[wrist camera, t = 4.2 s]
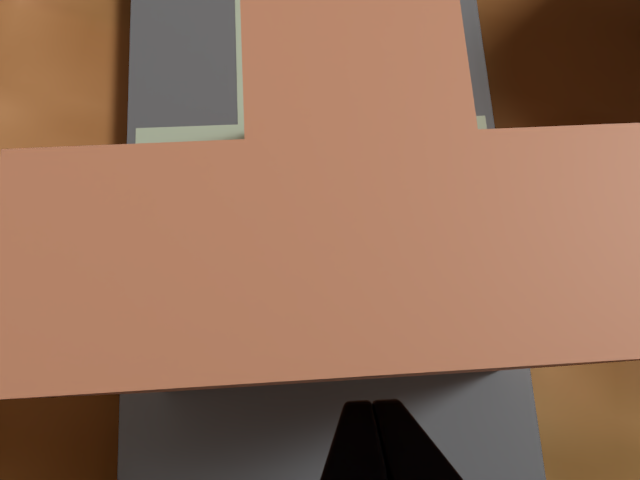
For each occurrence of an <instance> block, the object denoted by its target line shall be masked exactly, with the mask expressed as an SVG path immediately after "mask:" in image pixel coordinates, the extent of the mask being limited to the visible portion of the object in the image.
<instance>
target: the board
mask: <svg viewBox="0 0 640 480" xmlns="http://www.w3.org/2000/svg"><path fill="white" fill-rule="evenodd" d="M460 5H461V12H462V20H463V27H464V34H465V41H466V48H467V55H468V62H469V69H470V76H471V83H472V91H473V98H474V105H475V112H476V119H477V126H478V129H495V125H494V118H493V111H492V104H491V98H490V91H489V84H488V77H487V70H486V63H485V56H484V49H483V42H482V35H481V29H480V22H479V15H478V8H477V1H476V0H460ZM235 139H245V138H244V106H243V75H242V43H241V12H240V0H131V16H130V51H129V87H128V122H127V144H138V143H163V142H187V141H211V140H235ZM378 399H398V400H400V401H401V402H402V403H403V404H404V406H405V407H406V408H407V409H408V411H409V412H410V413H411V415H412V416H413V417H414V418H415V420H416V421H417V422H418V423H419V425H420V426H421V427H422V428H423V430H424V431H425V432H426V433H427V435H428V436H429V437H430V438H431V440H432V441H433V442H434V443H435V445H436V446H437V447H438V448H439V450H440V451H441V452H442V453H443V455H444V456H445V457H446V458H447V460H448V461H449V462H450V463H451V465H452V466H453V467H454V468H455V470H456V471H457V472H458V473H459V475H460V476H461V477H462V478H463V480H546V477H545V470H544V463H543V456H542V449H541V442H540V436H539V429H538V422H537V415H536V408H535V401H534V394H533V387H532V380H531V373H530V368H528V369H514V370H501V371H485V372H470V373H454V374H438V375H422V376H407V377H391V378H375V379H360V380H344V381H328V382H312V383H297V384H281V385H265V386H250V387H234V388H218V389H203V390H187V391H171V392H152V393H131V394H120V403H119V439H118V474H117V480H320V478H321V475H322V472H323V469H324V465H325V462H326V459H327V456H328V453H329V449H330V446H331V443H332V440H333V437H334V433H335V430H336V427H337V424H338V421H339V417H340V414H341V411H342V408H343V405H344V403H345V402H347V401H357V400H369V401H370V402H371V403H372V402H373V401H374V400H378Z"/></svg>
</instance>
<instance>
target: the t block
mask: <svg viewBox="0 0 640 480" xmlns="http://www.w3.org/2000/svg"><path fill="white" fill-rule="evenodd" d="M240 12H241V43H242V75H243V106H244V138H245V139H235V140H211V141H187V142H163V143H138V144H114V145H90V146H66V147H42V148H18V149H1V155H0V400H5V399H26V398H47V397H68V396H89V395H110V394H131V393H152V392H171V391H187V390H203V389H218V388H234V387H250V386H265V385H281V384H297V383H312V382H328V381H344V380H360V379H375V378H391V377H407V376H422V375H438V374H454V373H470V372H485V371H501V370H514V369H528V368H541V367H555V366H568V365H581V364H595V363H608V362H622V361H635V360H640V123H620V124H596V125H572V126H548V127H524V128H500V129H478V126H477V119H476V112H475V105H474V98H473V91H472V83H471V76H470V69H469V62H468V55H467V48H466V41H465V34H464V27H463V20H462V12H461V5H460V0H240Z"/></svg>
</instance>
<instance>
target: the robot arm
mask: <svg viewBox="0 0 640 480" xmlns="http://www.w3.org/2000/svg"><path fill="white" fill-rule="evenodd" d="M320 480H463V478H462V477H461V476H460V475H459V473H458V472H457V471H456V470H455V468H454V467H453V466H452V465H451V463H450V462H449V461H448V460H447V458H446V457H445V456H444V455H443V453H442V452H441V451H440V450H439V448H438V447H437V446H436V445H435V443H434V442H433V441H432V440H431V438H430V437H429V436H428V435H427V433H426V432H425V431H424V430H423V428H422V427H421V426H420V425H419V423H418V422H417V421H416V420H415V418H414V417H413V416H412V415H411V413H410V412H409V411H408V409H407V408H406V407H405V406H404V404H403V403H402V402H401V401H400V400H398V399H378V400H374V401H373V402H372V403H371V402H370V401H369V400H357V401H347V402H345V403H344V405H343V408H342V411H341V414H340V417H339V421H338V424H337V427H336V430H335V433H334V437H333V440H332V443H331V446H330V449H329V453H328V456H327V459H326V462H325V465H324V469H323V472H322V475H321V478H320Z"/></svg>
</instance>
